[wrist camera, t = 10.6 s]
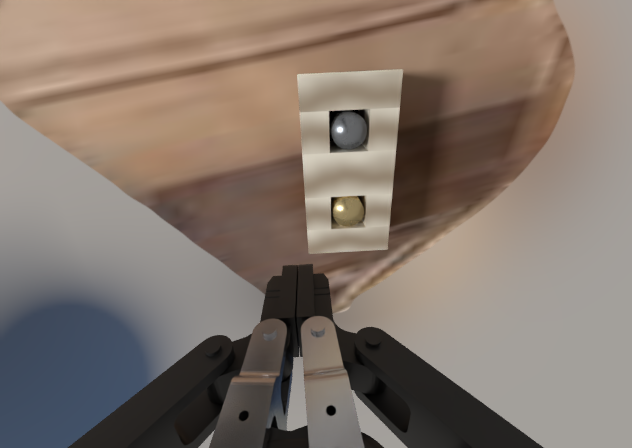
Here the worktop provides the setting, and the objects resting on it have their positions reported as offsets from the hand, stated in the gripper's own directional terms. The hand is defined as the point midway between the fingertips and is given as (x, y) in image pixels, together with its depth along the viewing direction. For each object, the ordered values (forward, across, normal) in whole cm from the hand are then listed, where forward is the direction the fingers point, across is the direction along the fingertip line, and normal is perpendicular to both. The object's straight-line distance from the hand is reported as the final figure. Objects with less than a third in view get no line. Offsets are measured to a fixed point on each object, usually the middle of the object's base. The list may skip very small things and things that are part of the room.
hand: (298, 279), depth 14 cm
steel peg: (+32, -6, -4) cm, 33 cm away
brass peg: (+32, -6, +8) cm, 33 cm away
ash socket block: (+32, -6, +2) cm, 33 cm away
